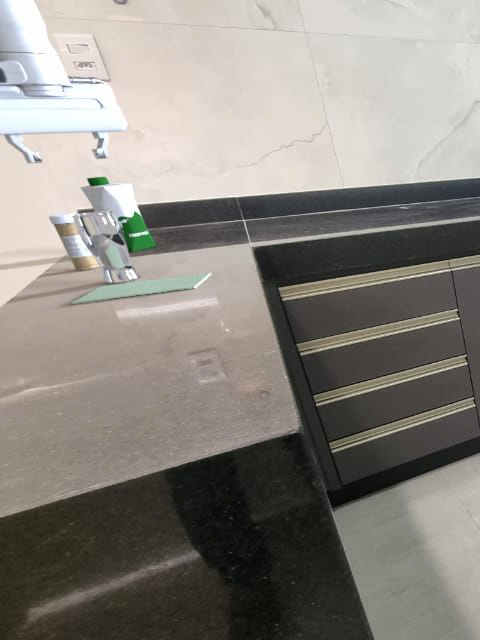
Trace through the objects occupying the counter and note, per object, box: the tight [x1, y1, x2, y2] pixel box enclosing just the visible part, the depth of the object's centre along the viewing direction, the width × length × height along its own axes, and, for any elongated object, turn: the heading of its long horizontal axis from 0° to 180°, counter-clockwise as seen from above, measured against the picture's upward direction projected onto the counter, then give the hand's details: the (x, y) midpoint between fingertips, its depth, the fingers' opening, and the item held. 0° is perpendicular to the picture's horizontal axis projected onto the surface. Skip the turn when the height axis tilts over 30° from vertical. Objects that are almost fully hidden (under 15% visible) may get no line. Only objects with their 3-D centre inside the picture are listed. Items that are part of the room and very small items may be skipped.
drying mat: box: [72, 272, 212, 305], centre depth 113 cm, size 20×13×1 cm, turn 114°
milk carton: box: [79, 176, 157, 253], centre depth 150 cm, size 9×9×20 cm
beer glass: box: [72, 211, 142, 285], centre depth 118 cm, size 7×7×15 cm
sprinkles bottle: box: [48, 212, 100, 271], centre depth 130 cm, size 5×5×14 cm
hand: (70, 160), depth 96 cm, fingers open, 8 cm apart
